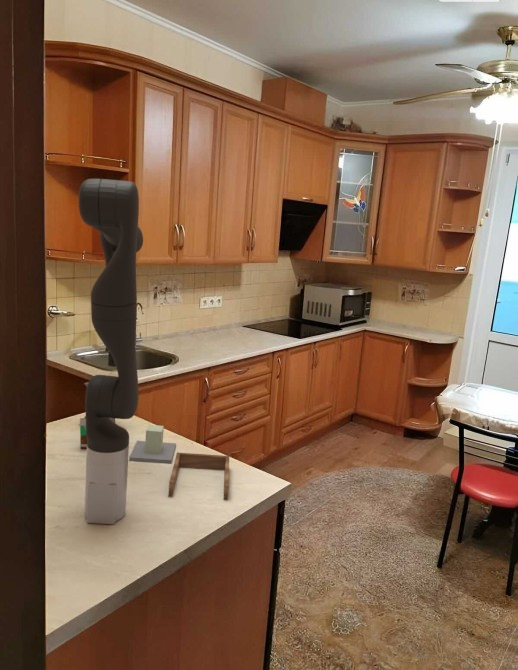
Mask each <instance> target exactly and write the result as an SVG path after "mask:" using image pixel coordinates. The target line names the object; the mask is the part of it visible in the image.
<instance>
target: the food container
mask: <svg viewBox="0 0 518 670" xmlns="http://www.w3.org/2000/svg"><path fill="white" fill-rule="evenodd" d="M79 430H80V433H79V434H80V437H79V438H80V439H79V440H80V441H79V442H80V450H87V437H86V415H85V416H84V417H83V418H80V419H79Z"/></svg>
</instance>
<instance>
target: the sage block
mask: <svg viewBox="0 0 518 670" xmlns="http://www.w3.org/2000/svg"><path fill="white" fill-rule="evenodd" d="M164 428H165V426H164V425H156V424H155V425H154V424H148V426H147V428H146V430H145V440H144V441H145V453H153V454H160V453H161V450H162V446H163V442H164Z"/></svg>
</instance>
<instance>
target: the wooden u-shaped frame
mask: <svg viewBox="0 0 518 670" xmlns="http://www.w3.org/2000/svg"><path fill="white" fill-rule="evenodd" d="M180 468H186V469H201V470H202V469H203V470H216V471H224V477H223V479H224V481H223V500H224V501H228V499H229V498H228V497H229V496H228V495H229V488H230V487H229V484H230V483H229V480H230V455H219V454H207V453H206V454H204V453H191V452H187V453H186V452H178V451H177V452H176V455H175V459H174V461H173V466H172V471H171V474H170V478H169V483H168V494H167V495H168V496H167V497H170V498H171V497H173V496H174V491H175V486H176V482H177V478H178V474H179V470H180Z"/></svg>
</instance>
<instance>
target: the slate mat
mask: <svg viewBox="0 0 518 670" xmlns="http://www.w3.org/2000/svg"><path fill="white" fill-rule="evenodd" d="M145 441H146V440H136V442H135V445H134V447H133V449H132V451H131V453H130V456H128V462H129V461H130V462H132V461H133V462H143V463H144V462H145V463H159V464H172V463H173V459H174V454H175V451H176V446H177V443H176V442H175V443H174V442H164V441H163V446H162V450H161V453H160V454H153V453H145Z"/></svg>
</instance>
